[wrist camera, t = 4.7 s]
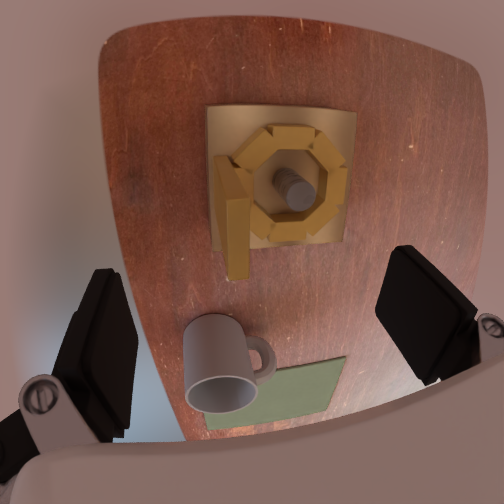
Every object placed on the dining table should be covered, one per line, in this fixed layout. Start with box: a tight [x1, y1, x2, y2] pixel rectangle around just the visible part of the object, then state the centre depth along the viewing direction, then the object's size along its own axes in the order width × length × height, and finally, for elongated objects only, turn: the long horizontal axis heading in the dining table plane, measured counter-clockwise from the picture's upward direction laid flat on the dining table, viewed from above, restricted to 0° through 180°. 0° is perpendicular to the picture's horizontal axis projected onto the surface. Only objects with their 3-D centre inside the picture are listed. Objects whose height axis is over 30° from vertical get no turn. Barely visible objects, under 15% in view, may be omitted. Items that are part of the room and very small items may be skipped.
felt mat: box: [204, 356, 346, 430], centre depth 44 cm, size 22×16×1 cm
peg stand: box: [205, 104, 357, 252], centre depth 22 cm, size 11×11×9 cm
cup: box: [183, 314, 277, 414], centre depth 31 cm, size 7×10×9 cm
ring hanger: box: [213, 124, 348, 281], centre depth 18 cm, size 9×8×9 cm
